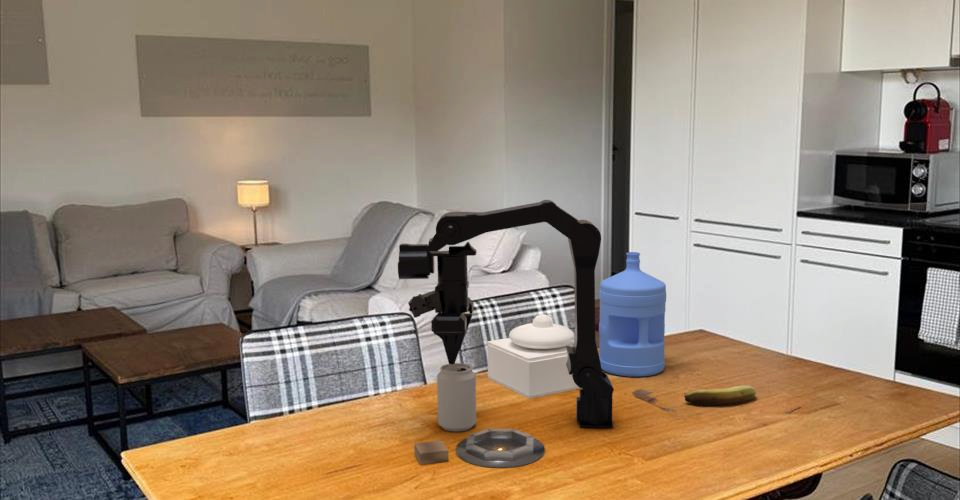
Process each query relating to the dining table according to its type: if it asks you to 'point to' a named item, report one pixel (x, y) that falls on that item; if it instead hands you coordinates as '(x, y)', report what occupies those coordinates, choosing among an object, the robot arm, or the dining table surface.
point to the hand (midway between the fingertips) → (454, 357)
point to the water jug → (632, 322)
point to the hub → (500, 448)
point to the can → (456, 397)
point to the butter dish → (533, 358)
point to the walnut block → (431, 452)
